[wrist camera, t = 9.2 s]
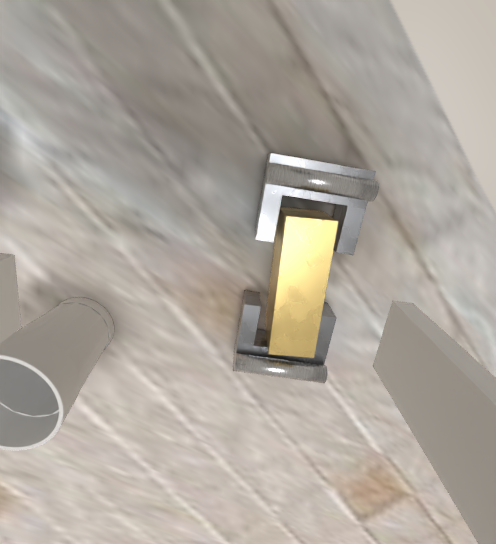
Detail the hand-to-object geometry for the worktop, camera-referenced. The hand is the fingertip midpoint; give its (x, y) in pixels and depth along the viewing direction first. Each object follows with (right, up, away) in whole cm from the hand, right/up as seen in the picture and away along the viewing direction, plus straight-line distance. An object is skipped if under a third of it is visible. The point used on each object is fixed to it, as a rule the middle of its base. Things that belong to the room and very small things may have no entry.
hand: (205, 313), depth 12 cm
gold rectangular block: (+6, +2, +21) cm, 22 cm away
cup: (-15, -4, +23) cm, 28 cm away
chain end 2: (+5, -4, +23) cm, 24 cm away
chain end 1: (+7, +8, +19) cm, 22 cm away
